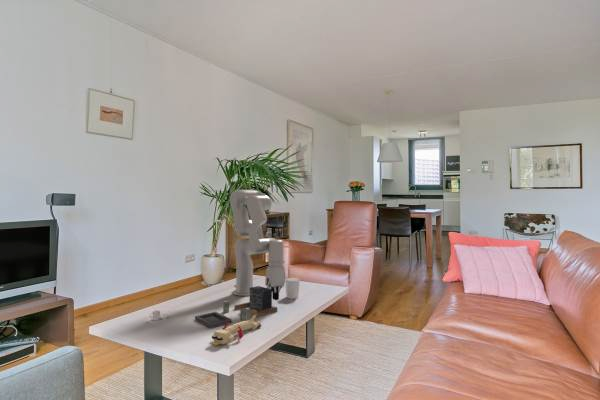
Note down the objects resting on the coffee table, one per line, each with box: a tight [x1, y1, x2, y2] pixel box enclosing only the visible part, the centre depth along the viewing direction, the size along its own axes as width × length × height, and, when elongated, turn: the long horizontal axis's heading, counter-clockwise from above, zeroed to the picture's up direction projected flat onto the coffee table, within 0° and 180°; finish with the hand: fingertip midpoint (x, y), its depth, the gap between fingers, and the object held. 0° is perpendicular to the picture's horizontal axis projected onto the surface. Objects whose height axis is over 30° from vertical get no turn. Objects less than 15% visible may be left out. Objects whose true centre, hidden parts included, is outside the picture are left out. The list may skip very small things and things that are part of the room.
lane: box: [222, 300, 278, 322], centre depth 170 cm, size 17×20×5 cm
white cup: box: [285, 277, 301, 300], centre depth 196 cm, size 8×8×10 cm
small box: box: [248, 285, 273, 312], centre depth 174 cm, size 11×6×10 cm, turn 47°
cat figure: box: [211, 309, 262, 346], centre depth 140 cm, size 10×9×25 cm
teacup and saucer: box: [146, 310, 169, 324], centre depth 159 cm, size 9×8×4 cm
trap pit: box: [194, 311, 233, 329], centre depth 157 cm, size 14×10×2 cm
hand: (275, 299), depth 181 cm, fingers closed
